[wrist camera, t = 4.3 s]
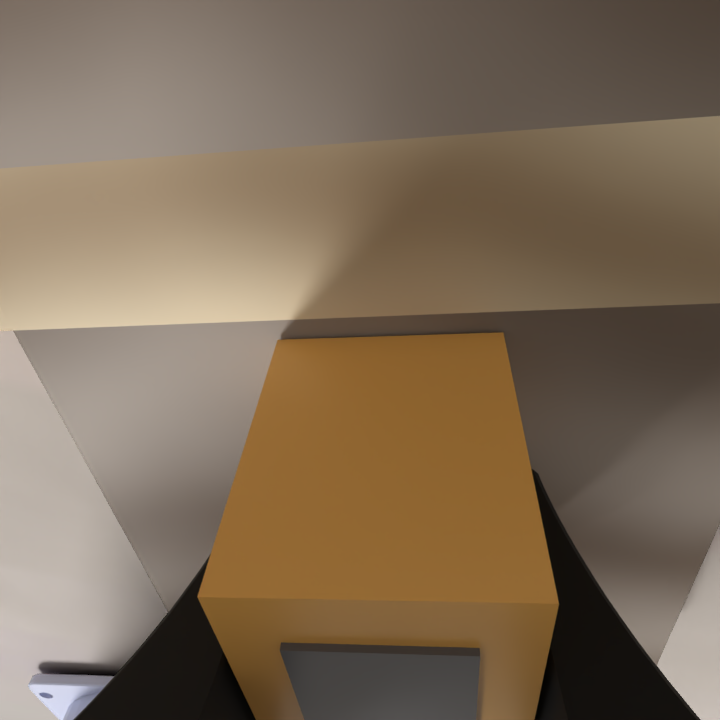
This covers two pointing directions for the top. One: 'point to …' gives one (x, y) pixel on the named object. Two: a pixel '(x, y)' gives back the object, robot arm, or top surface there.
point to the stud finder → (385, 537)
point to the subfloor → (375, 241)
